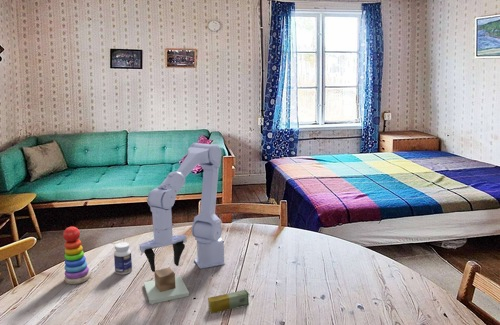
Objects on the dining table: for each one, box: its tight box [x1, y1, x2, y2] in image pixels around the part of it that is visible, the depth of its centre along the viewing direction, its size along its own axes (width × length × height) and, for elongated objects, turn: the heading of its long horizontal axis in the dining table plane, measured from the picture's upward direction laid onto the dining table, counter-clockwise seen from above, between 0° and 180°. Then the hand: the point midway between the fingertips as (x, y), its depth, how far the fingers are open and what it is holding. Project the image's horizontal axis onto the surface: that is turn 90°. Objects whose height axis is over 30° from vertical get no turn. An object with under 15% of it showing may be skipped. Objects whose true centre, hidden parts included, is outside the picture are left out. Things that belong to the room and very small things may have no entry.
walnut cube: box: [154, 267, 176, 292], centre depth 131 cm, size 5×5×5 cm
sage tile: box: [143, 275, 190, 305], centre depth 131 cm, size 12×12×1 cm
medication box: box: [207, 289, 250, 314], centre depth 122 cm, size 12×3×4 cm, turn 112°
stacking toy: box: [62, 226, 91, 285], centre depth 137 cm, size 8×8×19 cm
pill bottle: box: [113, 241, 133, 275], centre depth 144 cm, size 6×6×10 cm
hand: (164, 267), depth 130 cm, fingers open, 7 cm apart
